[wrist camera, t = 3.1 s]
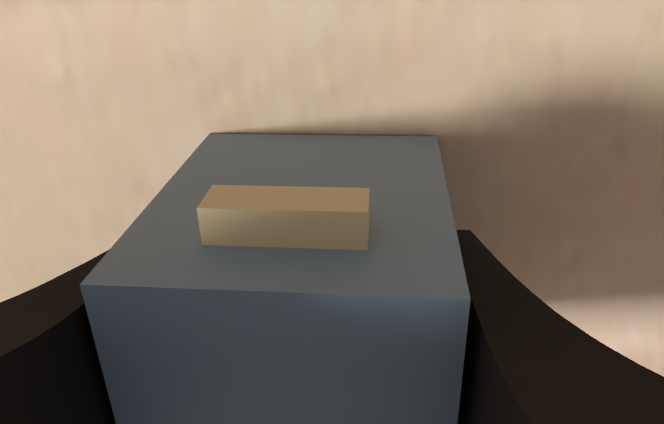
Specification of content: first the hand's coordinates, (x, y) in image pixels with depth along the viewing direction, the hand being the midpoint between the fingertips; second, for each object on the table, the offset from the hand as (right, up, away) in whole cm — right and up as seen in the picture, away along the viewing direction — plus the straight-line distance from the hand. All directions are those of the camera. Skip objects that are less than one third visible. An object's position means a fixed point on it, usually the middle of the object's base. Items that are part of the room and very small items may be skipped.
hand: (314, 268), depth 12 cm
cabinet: (0, +1, +2) cm, 2 cm away
